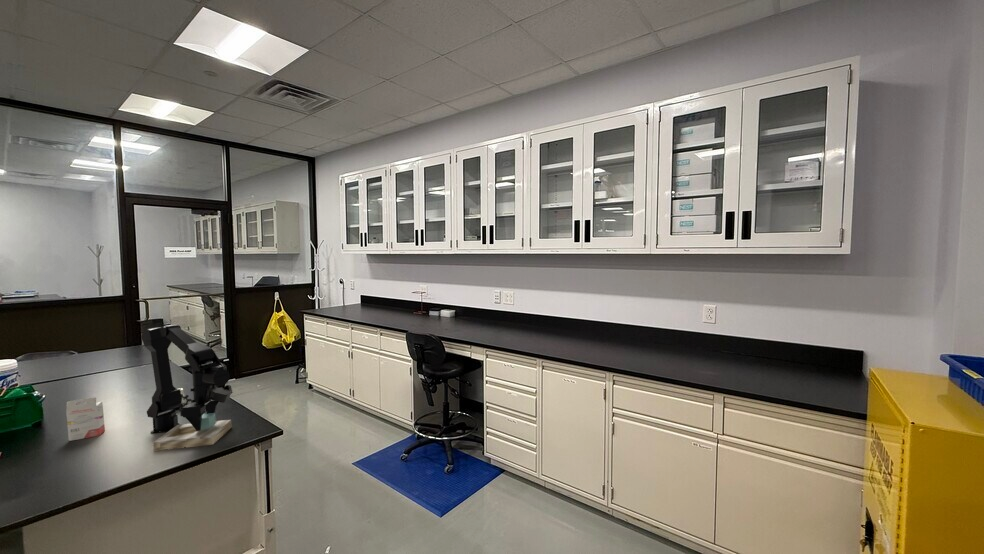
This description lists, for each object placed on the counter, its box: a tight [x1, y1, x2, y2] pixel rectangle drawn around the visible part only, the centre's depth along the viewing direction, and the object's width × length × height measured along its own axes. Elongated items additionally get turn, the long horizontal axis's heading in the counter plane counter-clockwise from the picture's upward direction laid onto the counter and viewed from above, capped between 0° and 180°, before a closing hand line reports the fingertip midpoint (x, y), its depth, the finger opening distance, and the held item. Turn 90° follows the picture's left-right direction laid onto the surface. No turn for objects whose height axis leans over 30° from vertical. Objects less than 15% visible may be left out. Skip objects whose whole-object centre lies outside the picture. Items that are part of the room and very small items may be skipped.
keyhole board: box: [152, 419, 232, 451], centre depth 138 cm, size 18×14×3 cm
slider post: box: [195, 413, 217, 431], centre depth 139 cm, size 6×6×7 cm
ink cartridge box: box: [65, 397, 106, 442], centre depth 142 cm, size 9×5×15 cm, turn 117°
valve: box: [176, 387, 192, 410], centre depth 171 cm, size 7×7×12 cm
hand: (205, 424), depth 139 cm, fingers open, 9 cm apart
